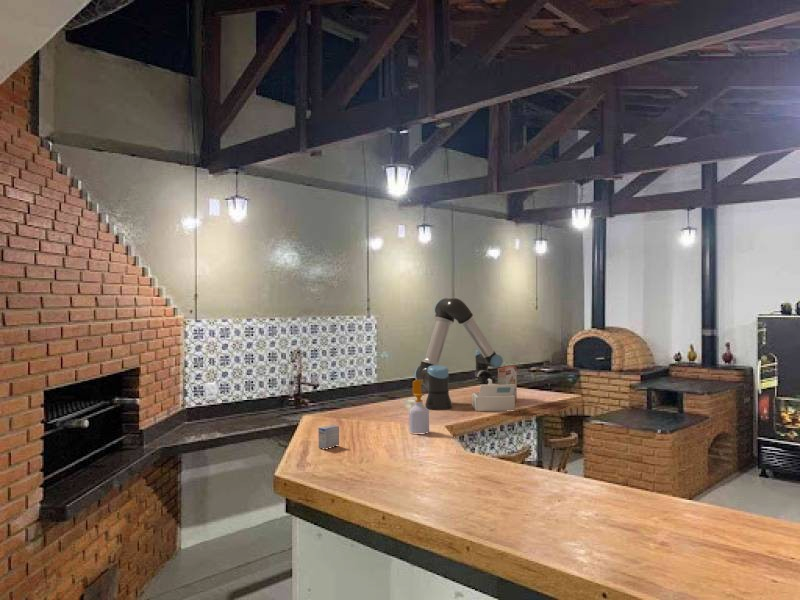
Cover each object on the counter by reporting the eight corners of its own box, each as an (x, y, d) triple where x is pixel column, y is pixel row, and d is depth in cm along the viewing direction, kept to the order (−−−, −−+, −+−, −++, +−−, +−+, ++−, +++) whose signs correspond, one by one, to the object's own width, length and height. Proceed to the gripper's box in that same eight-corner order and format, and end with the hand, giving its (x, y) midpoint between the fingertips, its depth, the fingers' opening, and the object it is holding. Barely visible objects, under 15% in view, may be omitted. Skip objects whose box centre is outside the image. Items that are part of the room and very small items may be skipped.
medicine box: (332, 444, 246) (331, 424, 246) (339, 446, 243) (339, 425, 243) (318, 448, 240) (318, 427, 240) (325, 450, 237) (325, 429, 237)
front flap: (478, 395, 314) (478, 396, 314) (480, 385, 307) (480, 385, 307) (512, 395, 315) (512, 396, 314) (515, 384, 307) (515, 385, 307)
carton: (476, 411, 315) (476, 396, 315) (472, 406, 331) (471, 392, 332) (515, 410, 315) (515, 396, 315) (509, 405, 332) (508, 391, 332)
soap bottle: (412, 435, 261) (412, 381, 261) (407, 431, 270) (406, 378, 270) (431, 434, 263) (430, 380, 263) (425, 429, 272) (424, 377, 272)
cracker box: (506, 404, 335) (506, 368, 335) (497, 403, 338) (496, 367, 339) (517, 401, 346) (517, 366, 346) (508, 400, 350) (507, 365, 350)
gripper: (495, 383, 347) (502, 389, 323) (473, 383, 347) (479, 389, 323) (495, 370, 347) (502, 375, 323) (473, 371, 347) (478, 376, 323)
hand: (490, 382), depth 323 cm, fingers closed
